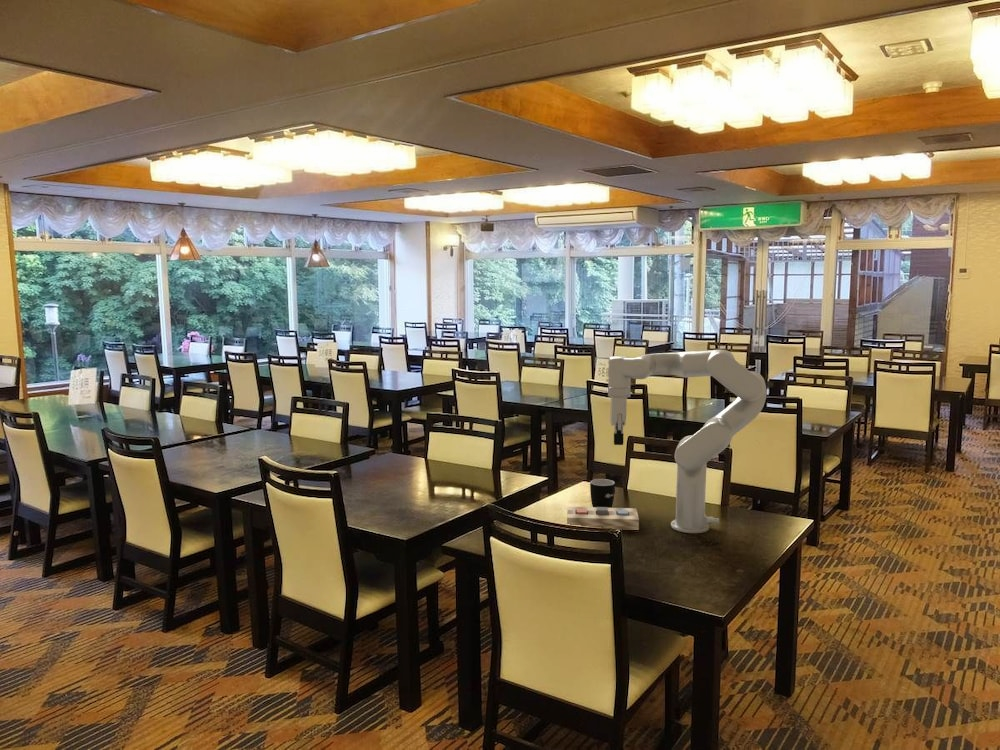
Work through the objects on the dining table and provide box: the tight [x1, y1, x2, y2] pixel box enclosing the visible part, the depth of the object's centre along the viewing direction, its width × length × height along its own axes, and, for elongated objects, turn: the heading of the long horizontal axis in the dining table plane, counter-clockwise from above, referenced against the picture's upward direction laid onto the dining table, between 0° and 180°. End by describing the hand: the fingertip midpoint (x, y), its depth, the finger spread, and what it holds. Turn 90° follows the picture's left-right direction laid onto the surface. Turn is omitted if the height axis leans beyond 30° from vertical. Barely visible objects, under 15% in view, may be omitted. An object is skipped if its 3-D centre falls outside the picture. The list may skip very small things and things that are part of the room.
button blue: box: [617, 510, 628, 516], centre depth 248 cm, size 4×4×3 cm
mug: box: [589, 478, 616, 508], centre depth 267 cm, size 12×9×10 cm
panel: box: [566, 506, 640, 532], centre depth 249 cm, size 24×12×4 cm, turn 84°
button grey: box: [597, 507, 608, 515], centre depth 249 cm, size 4×4×3 cm
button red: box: [577, 509, 587, 514], centre depth 250 cm, size 4×4×3 cm
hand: (618, 444), depth 250 cm, fingers closed
